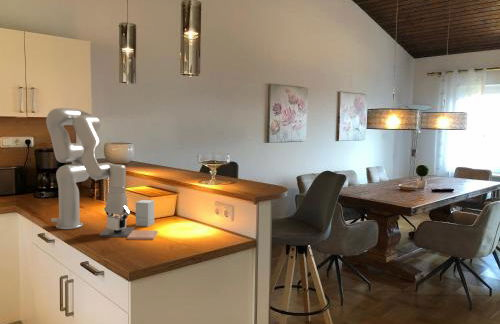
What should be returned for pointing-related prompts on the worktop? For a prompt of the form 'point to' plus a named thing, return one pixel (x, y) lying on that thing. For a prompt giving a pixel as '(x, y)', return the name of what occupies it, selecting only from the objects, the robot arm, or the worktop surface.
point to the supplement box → (144, 213)
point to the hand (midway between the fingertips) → (116, 226)
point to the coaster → (142, 235)
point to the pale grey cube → (114, 222)
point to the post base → (117, 232)
